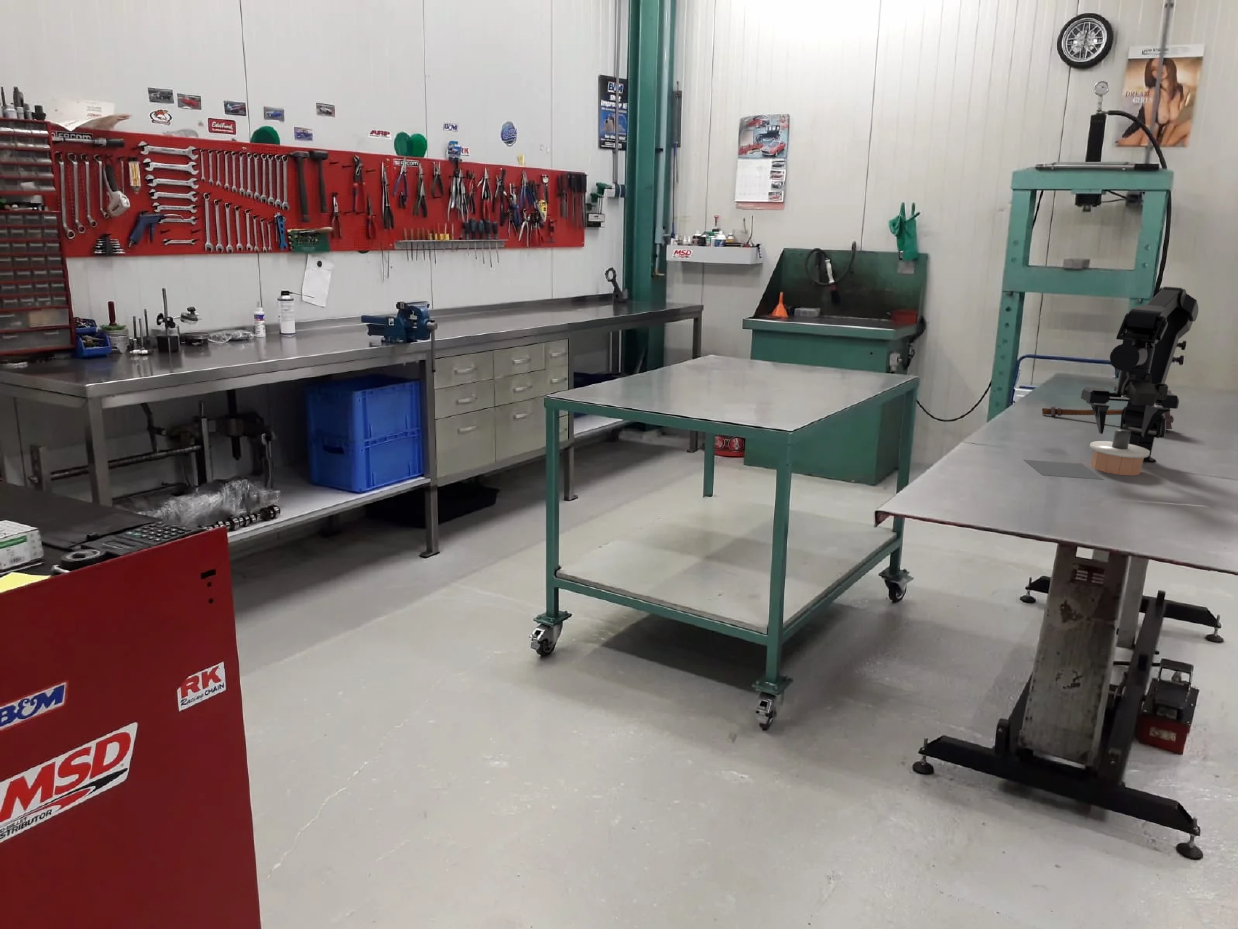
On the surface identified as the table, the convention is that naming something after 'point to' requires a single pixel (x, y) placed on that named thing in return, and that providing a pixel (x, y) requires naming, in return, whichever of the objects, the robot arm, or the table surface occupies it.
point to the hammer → (1060, 412)
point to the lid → (1120, 446)
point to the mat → (1063, 469)
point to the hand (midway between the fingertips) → (1122, 435)
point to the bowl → (1116, 464)
